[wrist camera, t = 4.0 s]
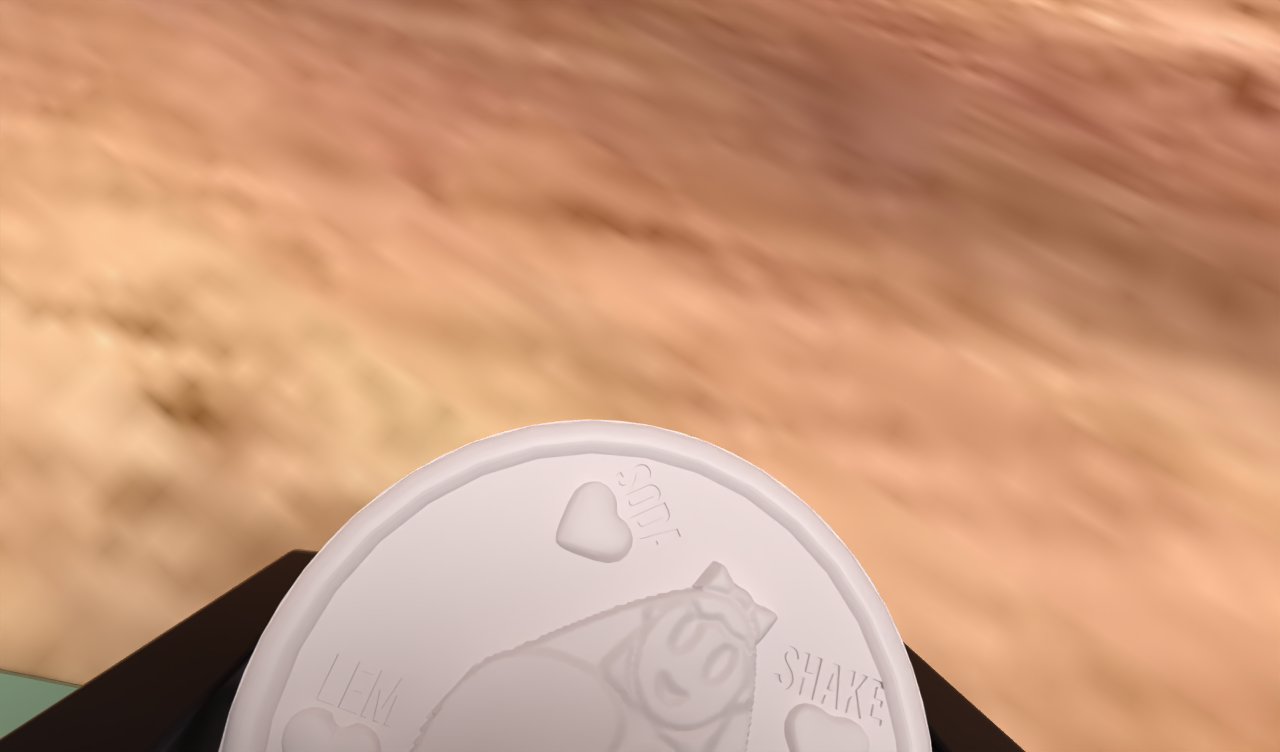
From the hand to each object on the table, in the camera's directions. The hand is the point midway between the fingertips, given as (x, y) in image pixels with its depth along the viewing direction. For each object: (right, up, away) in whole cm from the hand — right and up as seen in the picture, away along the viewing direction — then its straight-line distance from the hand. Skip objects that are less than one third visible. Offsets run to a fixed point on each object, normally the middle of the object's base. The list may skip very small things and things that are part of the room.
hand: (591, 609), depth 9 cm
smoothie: (-1, -4, +6) cm, 7 cm away
